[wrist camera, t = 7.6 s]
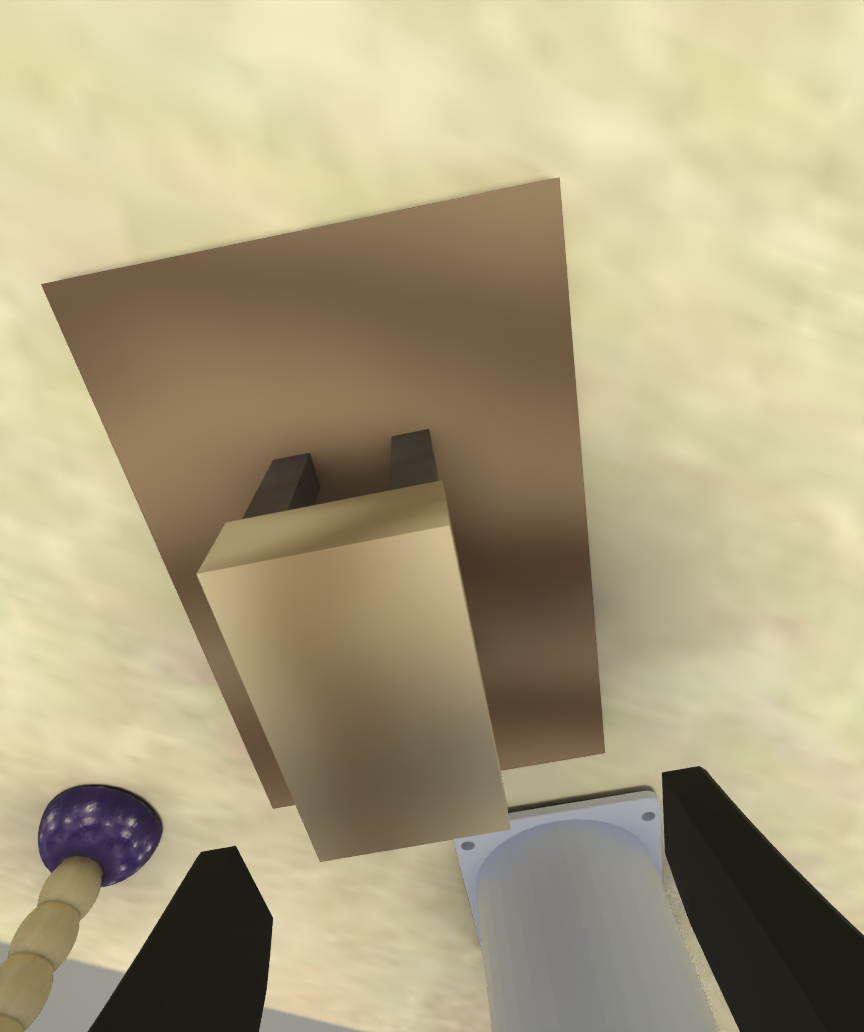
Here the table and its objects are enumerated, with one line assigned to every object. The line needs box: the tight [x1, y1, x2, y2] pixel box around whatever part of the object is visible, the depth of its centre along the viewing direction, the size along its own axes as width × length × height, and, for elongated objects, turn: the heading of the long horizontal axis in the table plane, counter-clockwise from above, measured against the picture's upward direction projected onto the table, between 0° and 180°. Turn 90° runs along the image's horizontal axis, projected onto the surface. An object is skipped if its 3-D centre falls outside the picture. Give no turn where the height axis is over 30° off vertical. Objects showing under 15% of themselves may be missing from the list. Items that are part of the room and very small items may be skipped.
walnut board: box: [41, 178, 605, 809], centre depth 18 cm, size 18×12×1 cm, turn 10°
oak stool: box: [197, 429, 511, 862], centre depth 15 cm, size 4×8×6 cm, turn 11°
